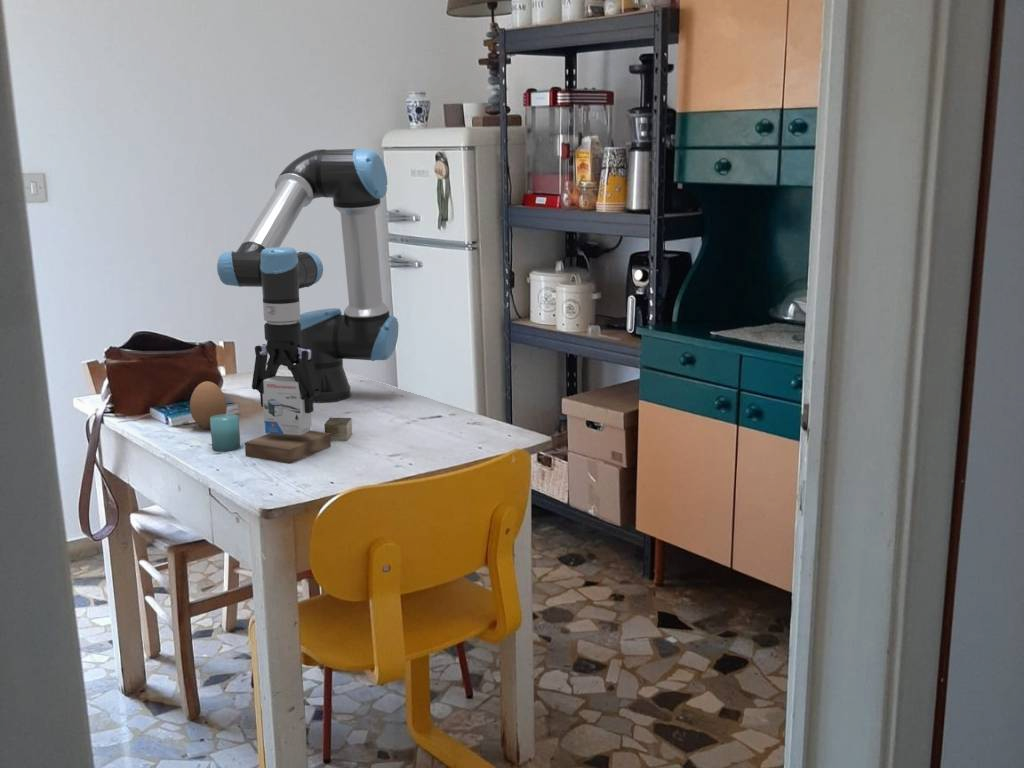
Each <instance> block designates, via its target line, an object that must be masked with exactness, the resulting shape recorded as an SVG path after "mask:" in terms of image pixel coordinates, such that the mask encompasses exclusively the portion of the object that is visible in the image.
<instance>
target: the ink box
mask: <svg viewBox="0 0 1024 768" xmlns="http://www.w3.org/2000/svg"><path fill="white" fill-rule="evenodd" d="M263 384H264V411H265V423H264V432H265V434H269V433H275V434H290V435H302V434H304V433H306V432H308V431H309V430H311V426H310V427H308V428H305V429H301V419H300V400H299V399H301V398H302V395H301V392H300V390H299V384H298V382H296V381H295V379H294V377H293V375H292V376H291V375H288V376H287V375H276V376H273V377H270V378H268V379H265V380H263Z"/></svg>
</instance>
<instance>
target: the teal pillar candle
mask: <svg viewBox="0 0 1024 768" xmlns="http://www.w3.org/2000/svg"><path fill="white" fill-rule="evenodd" d="M210 424H211V428H210V436H211V437H210V438H211V450H212V451H213V452H218V453H229V452H234V451H238V450H239V449H241V431H240V417H239V415H238V414H235V413H226V414H219V415H215V416H212V417H210Z"/></svg>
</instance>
